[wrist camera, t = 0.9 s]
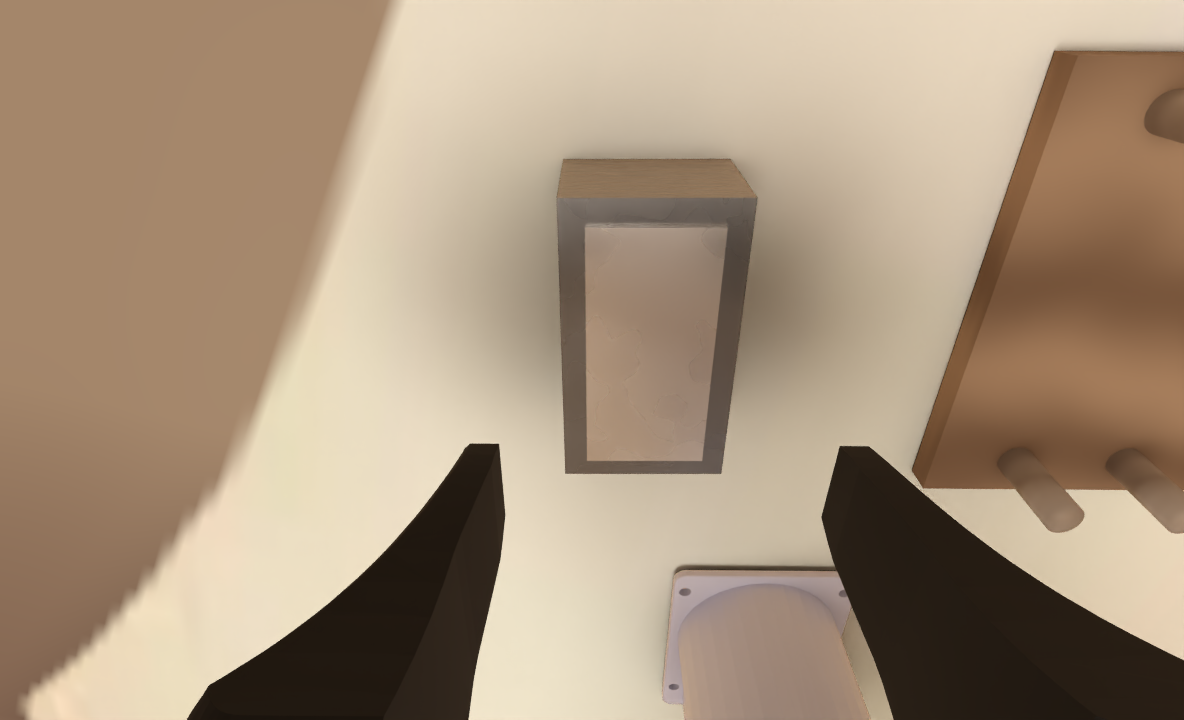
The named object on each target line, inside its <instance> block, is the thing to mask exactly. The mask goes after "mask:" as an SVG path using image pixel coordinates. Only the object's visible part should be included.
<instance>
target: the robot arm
mask: <svg viewBox="0 0 1184 720" xmlns="http://www.w3.org/2000/svg"><path fill="white" fill-rule="evenodd" d="M822 521H823V525H824V529H825V533H826V537H827V541H828V545H829V548H830V552H831V555H832V559H833V562H834V565H835V567H836V570H837V571H749V570H682V571H679V572H677V573H676V574H675V575H674V578H673V588H672V598H671V607H670V617H669V627H668V637H667V646H666V656H665V666H664V676H663V685H662V698H663V701H664V702H666V703H668V704H683V709H684V717H685V720H871V719H870V716H869V713H868V711H867V708H866V705H865V702H864V700H863V697H862V694H861V691H860V689H859V686H858V683H857V680H856V678H855V675H854V672H853V669H852V667H851V664H850V661H849V658H848V656H847V653H846V650H845V647H844V645H843V642H842V639H841V637H842V634H843V631H844V628H845V625H846V622H847V619H848V615H849V612H850V609H851V606H852V608H853V611H854V613H855V615H856V618H857V620H858V622H859V625H860V627H861V630H862V632H863V634H864V637H865V639H866V641H867V644H868V646H869V649H870V651H871V653H872V656H873V658H874V661H875V663H876V666H877V669H878V671H879V674H880V677H881V680H882V682H883V686H884V689H885V692H886V696H887V699H888V702H889V705H890V709H891V712H892V715H893V718H894V720H1184V660H1182V659H1180V658H1178V657H1176V656H1174V655H1171V654H1169V653H1167V652H1165V651H1163V650H1162V649H1160V648H1158V647H1156V646H1154V645H1152V644H1150V643H1148V642H1146V641H1144V640H1142V639H1140V638H1138V637H1136V636H1134V635H1132V634H1130V633H1128V632H1126V631H1124V630H1122V629H1120V628H1119V627H1117V626H1115V625H1113V624H1111V623H1109V622H1107V621H1106V620H1104V619H1102V618H1100V617H1098V616H1097V615H1095V614H1093V613H1092V612H1090V611H1088V610H1086V609H1085V608H1083V607H1081V606H1079V605H1078V604H1076V603H1074V602H1073V601H1071V600H1069V599H1067V598H1066V597H1064V596H1062V595H1061V594H1059V593H1058V592H1056V591H1054V590H1053V589H1051V588H1049V587H1048V586H1046V585H1045V584H1043V583H1042V582H1040V581H1039V580H1037V579H1036V578H1034V577H1033V576H1031V575H1030V574H1028V573H1027V572H1025V571H1024V570H1022V569H1021V568H1019V567H1018V566H1016V565H1015V564H1013V563H1012V562H1010V561H1009V560H1007V559H1006V558H1004V557H1003V556H1002V555H1000V554H999V553H997V552H996V551H995V550H993V549H992V548H991V547H989V546H988V545H987V544H985V543H984V542H983V541H981V540H980V539H979V538H977V537H976V536H975V535H974V534H972V533H971V532H970V531H968V530H967V529H966V528H964V527H963V526H962V525H961V524H959V523H958V522H957V521H956V520H954V519H953V518H952V517H951V516H950V515H948V514H947V513H946V512H945V511H943V510H942V509H941V508H940V507H939V506H937V505H936V504H935V503H934V502H933V501H932V500H930V499H929V498H928V497H927V496H926V495H925V494H923V493H922V492H921V491H920V490H919V489H918V488H916V487H915V486H914V485H913V484H912V483H911V482H910V481H908V480H907V479H906V478H905V477H904V476H903V475H902V474H900V473H899V472H898V471H897V470H896V469H895V468H894V467H892V466H891V465H890V464H889V463H888V462H887V461H886V460H884V459H883V458H882V457H881V456H880V455H879V454H877V453H876V452H875V451H874V450H873V449H871V448H870V447H869V446H840V448H839V451H838V455H837V459H836V463H835V467H834V471H833V475H832V478H831V482H830V486H829V490H828V494H827V498H826V502H825V506H824V509H823V513H822ZM504 522H505V506H504V495H503V484H502V473H501V461H500V450H499V444H469V445H468V446H467V447H466V448H465V449H464V451H463V453H462V454H461V456H460V457H459V459H458V460H457V462H456V463H455V465H454V466H453V468H452V469H451V471H450V472H449V474H448V475H447V476H446V478H445V479H444V481H443V482H442V483H441V485H440V486H439V487H438V489H437V490H436V491H435V493H434V494H433V495H432V497H431V498H430V499H429V500H428V502H427V503H426V504H425V506H424V507H423V508H422V509H421V511H420V512H419V513H418V514H417V516H416V517H415V518H414V519H413V520H412V521H411V523H410V524H409V525H408V526H407V527H406V528H405V529H404V531H403V532H402V533H401V534H400V535H399V536H398V537H397V539H396V540H395V541H394V542H393V543H392V544H391V545H390V546H389V547H388V548H387V550H386V551H385V552H384V553H383V554H382V555H381V556H380V557H379V558H378V559H377V560H376V561H375V562H374V563H373V564H372V565H371V566H370V567H369V568H368V569H367V570H366V571H365V572H363V573H362V574H361V575H360V576H359V577H358V578H357V579H356V580H355V581H354V582H353V583H351V584H350V585H349V586H348V587H347V588H346V589H345V590H344V591H342V592H341V593H340V594H339V595H338V596H337V597H336V598H334V599H333V600H332V601H331V602H330V603H329V604H327V605H326V606H325V607H324V608H322V609H321V610H320V611H319V612H317V613H316V614H315V615H314V616H312V617H311V618H310V619H308V620H307V621H306V622H304V623H303V624H302V625H300V626H299V627H298V628H296V629H295V630H294V631H292V632H291V633H289V634H288V635H287V636H285V637H284V638H283V639H281V640H280V641H278V642H277V643H276V644H274V645H273V646H271V647H270V648H268V649H267V650H265V651H264V652H262V653H261V654H259V655H257V656H256V657H254V658H253V659H251V660H249V661H248V662H246V663H245V664H243V665H241V666H240V667H238V668H237V669H235V670H234V671H232V672H230V673H229V674H227V675H226V676H224V677H222V678H221V679H219V680H217V681H216V682H214V683H212V684H210V685H209V686H208V688H207V689H206V691H205V693H204V694H203V696H202V697H201V699H200V700H199V701H198V703H197V704H196V706H195V707H194V709H193V710H192V712H191V713H190V715H189V717H188V718H187V720H468V718H469V711H470V703H471V696H472V688H473V681H474V675H475V669H476V664H477V659H478V654H479V650H480V645H481V641H482V637H483V632H484V628H485V624H486V620H487V615H488V611H489V607H490V602H491V598H492V594H493V589H494V585H495V581H496V576H497V572H498V567H499V563H500V558H501V550H502V541H503V532H504ZM683 588H685V589H683Z"/></svg>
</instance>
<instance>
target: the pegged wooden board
mask: <svg viewBox="0 0 1184 720" xmlns="http://www.w3.org/2000/svg"><path fill="white" fill-rule="evenodd" d="M912 471H913V473H914V475H915V476H916V478H917V479H918V481H919V483H920V484H921V486H922V487H923V488H954V489H1016V491H1017V492H1018V493H1019V494H1020V496H1021V497H1022V498H1023V499H1024V501H1025V502H1026V503H1027V504H1028V506H1029V507H1030V508H1031V509H1032V510H1033V512H1034V513H1035V514H1036V515H1037V517H1038V518H1039V519H1040V520H1041V522H1042V523H1043V524H1044V525H1045V527H1046V528H1047V529H1048V530H1049V531H1051V532H1056V533H1060V532H1066V531H1069V530H1071V529H1073V528H1075V527H1077V526H1078V525H1079V524H1080V523H1081V522H1082V520H1083V519H1084V511H1083V510H1082V509H1081V508H1080V507H1079V505H1078V504H1077V503H1076V502H1075V501H1074V500H1073V499H1072V498H1071V497H1070V495H1069V494H1068V493H1067V492H1066V491H1065V490H1064V489H1087V490H1128V491H1129V492H1130V493H1131V494H1132V495H1133V496H1134V497H1135V498H1136V499H1137V500H1138V501H1139V502H1140V503H1141V504H1142V505H1143V506H1144V507H1145V508H1146V509H1147V510H1148V511H1149V512H1150V513H1151V514H1152V515H1153V516H1154V517H1155V518H1156V519H1157V520H1158V521H1159V522H1160V523H1161V524H1162V525H1163V526H1164V527H1165V528H1166V529H1167V530H1168V531H1170V532H1172V533H1184V491H1183V490H1184V52H1127V51H1055V52H1054V55H1053V58H1052V61H1051V64H1050V67H1049V70H1048V72H1047V75H1046V78H1045V81H1044V84H1043V87H1042V90H1041V93H1040V96H1039V99H1038V102H1037V105H1036V108H1035V111H1034V114H1033V117H1032V120H1031V122H1030V125H1029V128H1028V131H1027V134H1026V137H1025V140H1024V143H1023V146H1022V149H1021V152H1020V155H1019V158H1018V161H1017V164H1016V167H1015V170H1014V173H1013V175H1012V178H1011V181H1010V184H1009V187H1008V190H1007V193H1006V196H1005V199H1004V202H1003V205H1002V208H1001V211H1000V214H999V217H998V220H997V223H996V225H995V228H994V231H993V234H992V237H991V240H990V243H989V246H988V249H987V252H986V255H985V258H984V261H983V264H982V267H981V270H980V273H979V275H978V278H977V281H976V284H975V287H974V290H973V293H972V296H971V299H970V302H969V305H968V308H967V311H966V314H965V317H964V320H963V323H962V325H961V328H960V331H959V334H958V337H957V340H956V343H955V346H954V349H953V352H952V355H951V358H950V361H949V364H948V367H947V370H946V373H945V375H944V378H943V381H942V384H941V387H940V390H939V393H938V396H937V399H936V402H935V405H934V408H933V411H932V414H931V417H930V420H929V423H928V425H927V428H926V431H925V434H924V437H923V440H922V443H921V446H920V449H919V452H918V455H917V458H916V461H915V464H914V467H913V470H912Z"/></svg>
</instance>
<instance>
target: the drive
mask: <svg viewBox="0 0 1184 720" xmlns="http://www.w3.org/2000/svg"><path fill="white" fill-rule="evenodd" d="M756 205H757V196H756V195H755V193H754V192H753V191H752V189H751V188H750V186H749V185H748V183H747V182H746V181H745V179H744V178H743V176H742V175H741V173H740V172H739V171H738V169H737V168H736V166H735V165H734V163H733V162H732V161H731V159H563V163H562V169H561V175H560V181H559V187H558V193H557V223H558V255H559V286H560V318H561V349H562V381H563V412H564V444H565V474H721V471H722V464H723V456H724V448H725V441H726V433H727V426H728V418H729V410H730V403H731V395H732V388H733V380H734V372H735V365H736V357H737V350H738V342H739V334H740V327H741V319H742V312H743V304H744V296H745V289H746V281H747V274H748V266H749V259H750V251H751V243H752V236H753V228H754V221H755V213H756Z"/></svg>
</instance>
